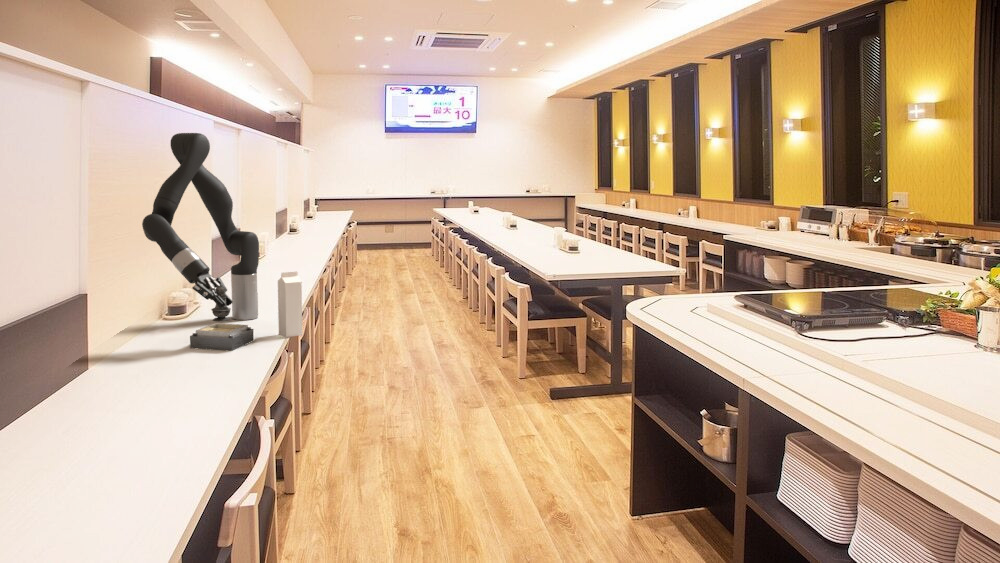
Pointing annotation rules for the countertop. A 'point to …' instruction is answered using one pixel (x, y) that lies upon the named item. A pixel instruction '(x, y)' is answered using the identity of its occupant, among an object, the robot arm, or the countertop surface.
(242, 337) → the grey square box
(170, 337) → the countertop surface
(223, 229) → the robot arm
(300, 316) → the milk
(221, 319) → the grey stone figure
